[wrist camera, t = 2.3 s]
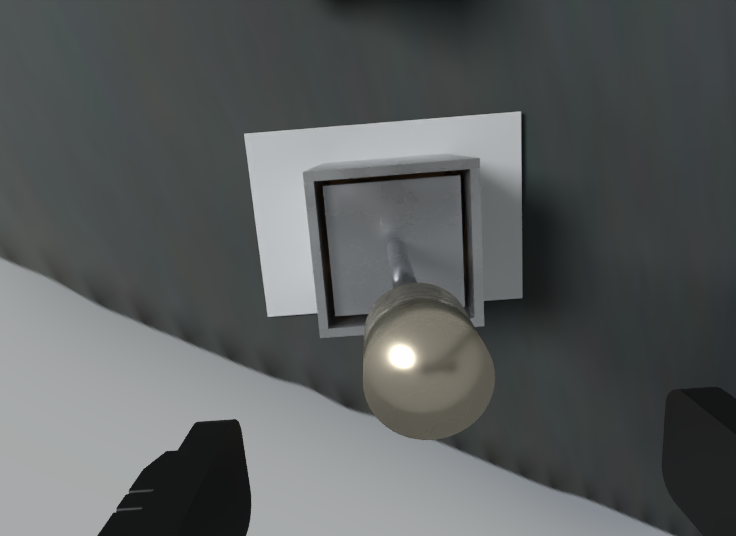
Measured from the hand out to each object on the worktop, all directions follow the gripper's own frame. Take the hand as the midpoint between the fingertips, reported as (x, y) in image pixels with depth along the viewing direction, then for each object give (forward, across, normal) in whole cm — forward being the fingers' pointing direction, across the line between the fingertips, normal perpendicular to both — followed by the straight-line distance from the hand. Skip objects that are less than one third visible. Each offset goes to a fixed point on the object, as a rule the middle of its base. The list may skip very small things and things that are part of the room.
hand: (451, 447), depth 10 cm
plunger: (+20, 0, 0) cm, 20 cm away
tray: (+31, 0, 0) cm, 31 cm away
